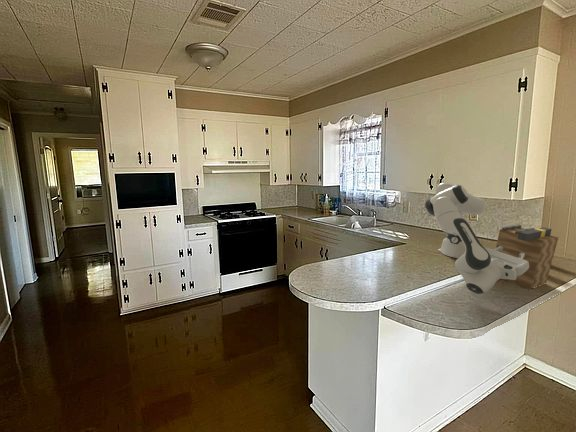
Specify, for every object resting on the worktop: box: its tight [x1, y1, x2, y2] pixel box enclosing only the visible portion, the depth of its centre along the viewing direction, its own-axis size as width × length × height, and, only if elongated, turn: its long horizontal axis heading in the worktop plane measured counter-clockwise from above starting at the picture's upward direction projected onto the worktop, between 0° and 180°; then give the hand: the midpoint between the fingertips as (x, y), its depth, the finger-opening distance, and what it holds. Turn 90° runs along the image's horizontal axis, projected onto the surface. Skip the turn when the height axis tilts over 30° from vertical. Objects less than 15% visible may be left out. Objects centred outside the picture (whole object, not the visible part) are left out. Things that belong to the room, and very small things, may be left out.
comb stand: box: [495, 224, 559, 290], centre depth 170 cm, size 16×20×28 cm
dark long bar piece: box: [518, 226, 553, 241], centre depth 160 cm, size 24×4×4 cm, turn 119°
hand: (512, 250), depth 153 cm, fingers open, 8 cm apart
